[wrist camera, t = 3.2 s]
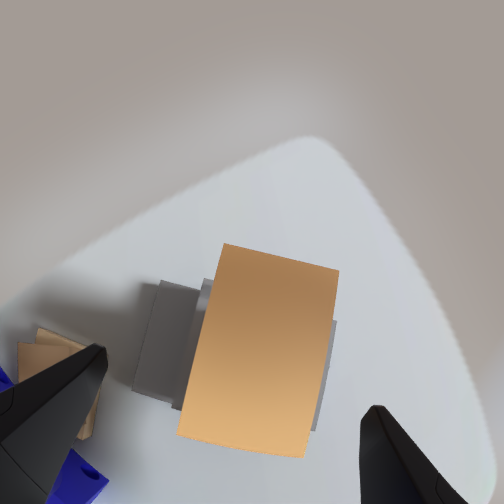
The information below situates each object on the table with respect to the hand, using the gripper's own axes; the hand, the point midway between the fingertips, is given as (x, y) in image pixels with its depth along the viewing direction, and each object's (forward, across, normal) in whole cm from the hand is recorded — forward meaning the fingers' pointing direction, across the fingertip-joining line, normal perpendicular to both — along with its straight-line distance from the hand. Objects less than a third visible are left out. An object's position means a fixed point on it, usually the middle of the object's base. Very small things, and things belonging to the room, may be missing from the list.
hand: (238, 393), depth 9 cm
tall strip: (+7, 0, +5) cm, 8 cm away
